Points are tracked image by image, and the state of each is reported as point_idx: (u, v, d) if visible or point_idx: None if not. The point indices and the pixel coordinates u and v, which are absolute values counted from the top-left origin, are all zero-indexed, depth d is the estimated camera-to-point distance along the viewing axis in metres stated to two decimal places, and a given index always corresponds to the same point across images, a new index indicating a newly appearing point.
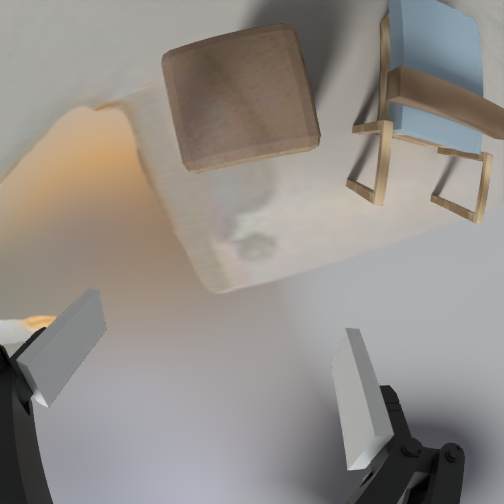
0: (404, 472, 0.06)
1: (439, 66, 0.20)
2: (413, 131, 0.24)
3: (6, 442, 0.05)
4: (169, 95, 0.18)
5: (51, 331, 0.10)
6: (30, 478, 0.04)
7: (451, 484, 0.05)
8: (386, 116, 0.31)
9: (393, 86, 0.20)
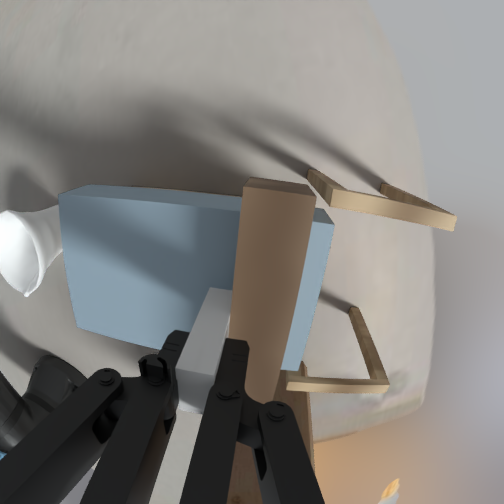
0: (229, 415, 0.08)
1: (182, 304, 0.18)
2: (300, 356, 0.19)
3: (125, 465, 0.06)
4: None
5: (199, 333, 0.12)
6: None
7: (288, 445, 0.07)
8: None
9: None
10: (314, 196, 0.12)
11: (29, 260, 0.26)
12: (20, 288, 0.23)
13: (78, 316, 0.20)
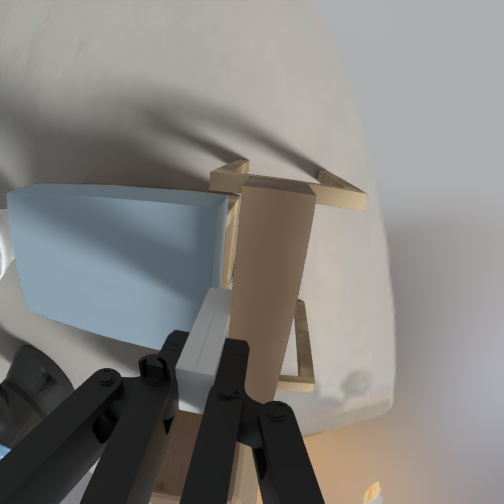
0: (229, 415, 0.08)
1: (97, 287, 0.18)
2: None
3: (125, 465, 0.06)
4: None
5: (199, 332, 0.12)
6: None
7: (288, 445, 0.07)
8: None
9: None
10: (314, 195, 0.11)
11: (0, 253, 0.26)
12: None
13: (27, 299, 0.20)
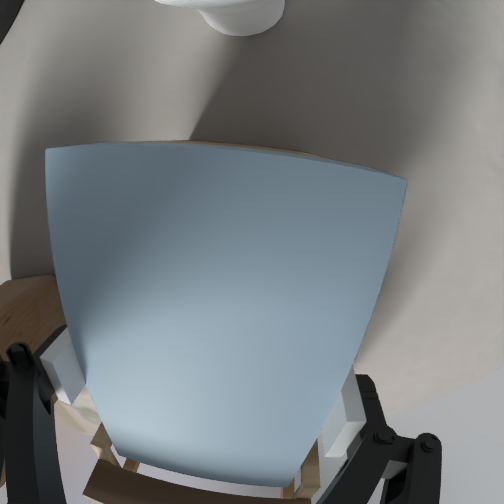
0: (379, 459, 0.07)
1: (170, 398, 0.11)
2: (138, 460, 0.14)
3: (23, 442, 0.05)
4: None
5: None
6: (46, 479, 0.05)
7: (429, 475, 0.06)
8: None
9: None
10: None
11: None
12: None
13: (70, 161, 0.07)
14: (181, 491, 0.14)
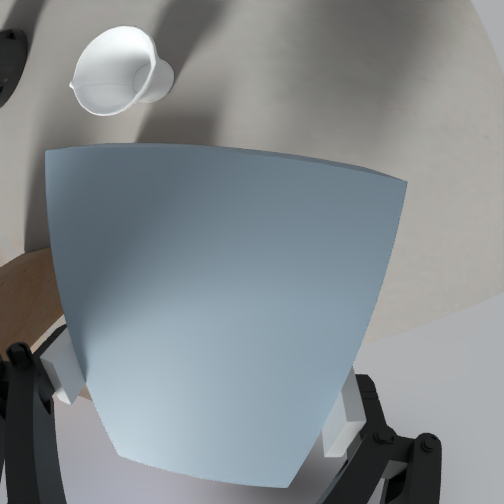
0: (378, 459, 0.07)
1: (170, 399, 0.11)
2: (138, 461, 0.14)
3: (23, 442, 0.05)
4: None
5: None
6: (46, 479, 0.05)
7: (429, 475, 0.06)
8: None
9: None
10: None
11: (110, 63, 0.22)
12: (78, 72, 0.19)
13: (70, 163, 0.07)
14: None
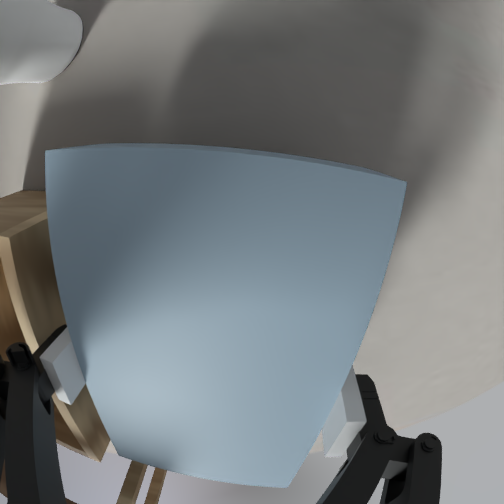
0: (379, 459, 0.07)
1: (170, 399, 0.11)
2: (138, 461, 0.14)
3: (23, 442, 0.05)
4: None
5: None
6: (45, 479, 0.05)
7: (429, 475, 0.06)
8: None
9: None
10: None
11: None
12: None
13: (70, 163, 0.07)
14: None
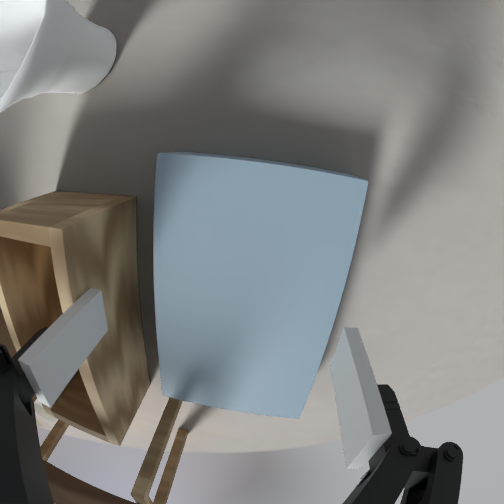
0: (402, 471, 0.06)
1: (223, 323, 0.17)
2: (179, 398, 0.20)
3: (7, 442, 0.05)
4: None
5: (53, 331, 0.10)
6: (31, 478, 0.04)
7: (449, 483, 0.05)
8: None
9: None
10: None
11: (18, 39, 0.09)
12: None
13: (177, 163, 0.14)
14: (54, 471, 0.14)
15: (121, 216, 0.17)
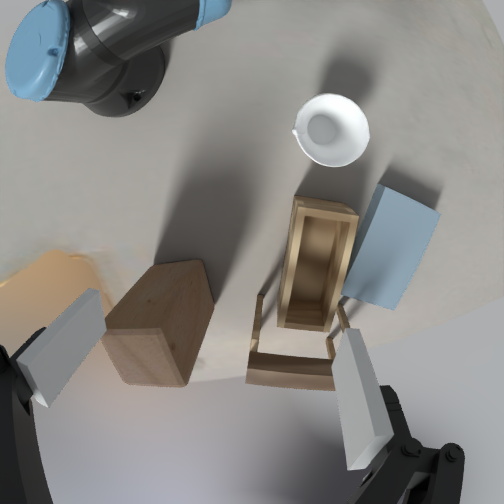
0: (404, 472, 0.06)
1: (385, 255, 0.41)
2: (347, 295, 0.44)
3: (6, 442, 0.05)
4: (107, 352, 0.32)
5: (51, 331, 0.10)
6: (30, 478, 0.04)
7: (451, 484, 0.05)
8: (279, 298, 0.45)
9: None
10: None
11: (310, 115, 0.33)
12: (299, 121, 0.30)
13: (391, 192, 0.38)
14: (295, 359, 0.38)
15: None
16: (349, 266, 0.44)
